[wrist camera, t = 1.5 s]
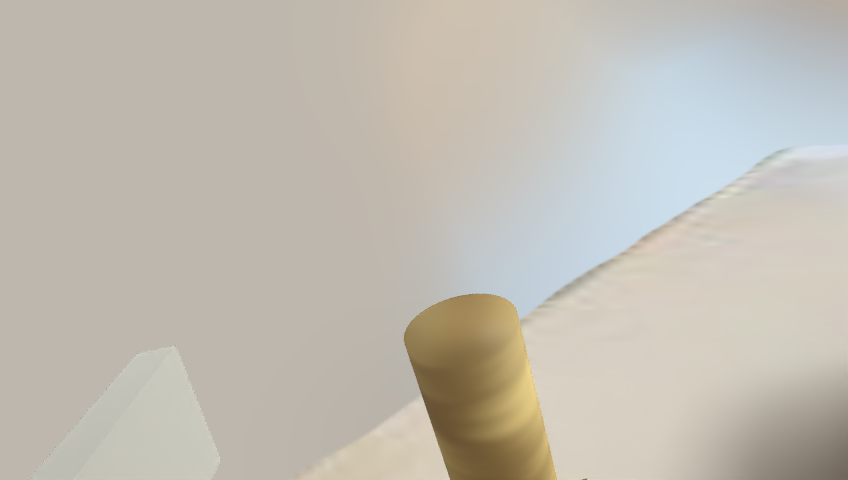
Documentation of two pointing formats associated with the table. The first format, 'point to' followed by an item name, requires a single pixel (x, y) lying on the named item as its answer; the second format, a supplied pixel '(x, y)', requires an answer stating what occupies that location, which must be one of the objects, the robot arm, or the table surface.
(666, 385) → the table surface
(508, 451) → the peg
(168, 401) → the robot arm
